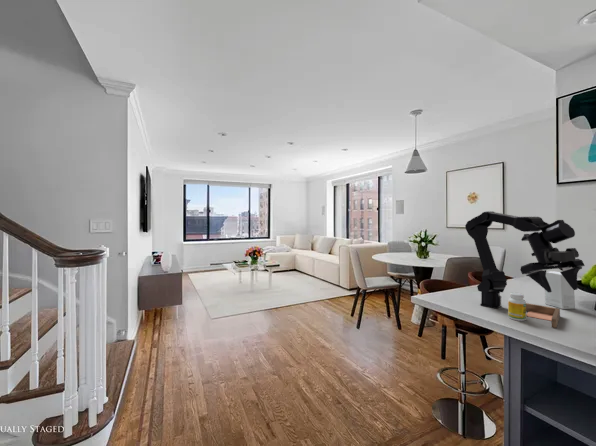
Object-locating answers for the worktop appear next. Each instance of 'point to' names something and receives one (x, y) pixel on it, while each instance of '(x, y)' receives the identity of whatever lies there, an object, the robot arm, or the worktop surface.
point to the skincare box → (559, 291)
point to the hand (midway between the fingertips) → (562, 290)
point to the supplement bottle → (517, 307)
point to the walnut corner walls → (545, 312)
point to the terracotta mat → (539, 315)
